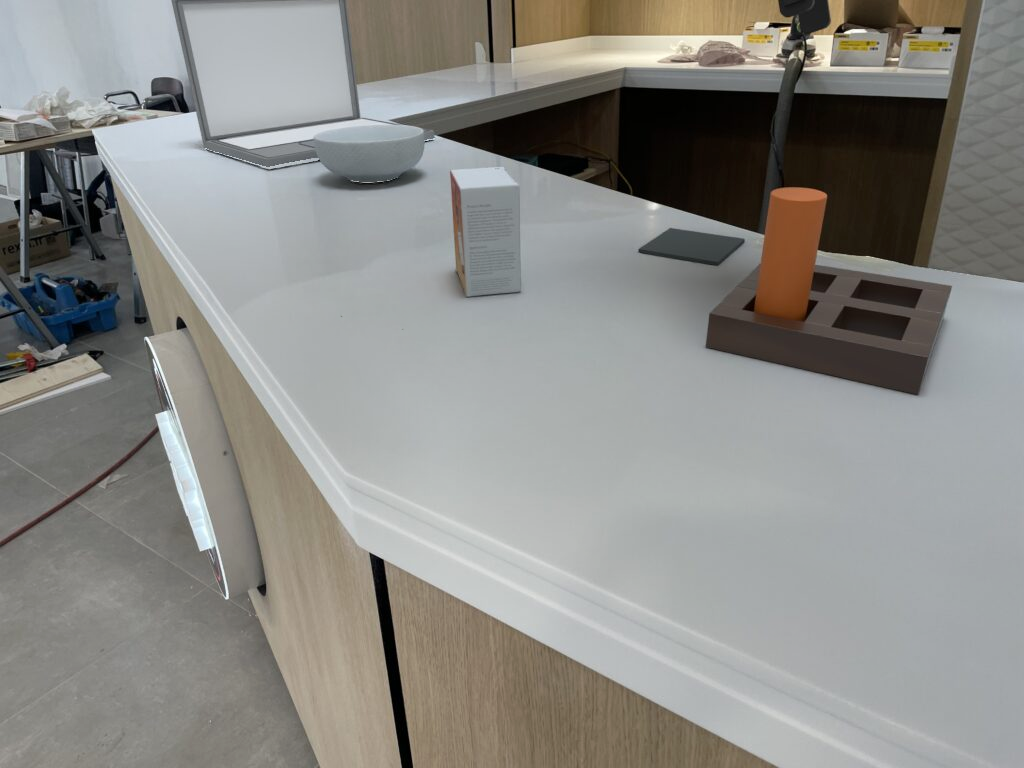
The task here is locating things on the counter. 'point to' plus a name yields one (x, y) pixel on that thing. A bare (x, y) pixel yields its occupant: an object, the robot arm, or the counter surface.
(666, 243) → the mat
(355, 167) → the cereal bowl
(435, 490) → the counter surface
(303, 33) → the laptop
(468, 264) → the small box
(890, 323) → the peg board
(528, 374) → the counter surface
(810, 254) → the peg
